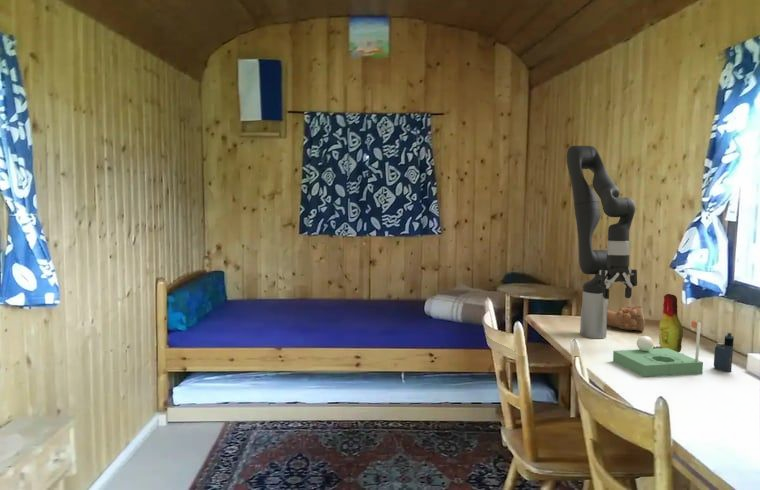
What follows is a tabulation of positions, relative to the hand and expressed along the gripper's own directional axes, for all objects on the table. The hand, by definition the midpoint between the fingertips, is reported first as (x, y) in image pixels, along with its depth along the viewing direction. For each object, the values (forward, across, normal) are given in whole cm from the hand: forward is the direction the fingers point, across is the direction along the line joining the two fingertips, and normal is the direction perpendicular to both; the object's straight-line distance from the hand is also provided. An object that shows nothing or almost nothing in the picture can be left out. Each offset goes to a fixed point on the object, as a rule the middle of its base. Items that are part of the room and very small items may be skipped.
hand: (616, 298), depth 205 cm
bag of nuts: (+17, -19, -23) cm, 34 cm away
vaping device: (+19, -17, +31) cm, 40 cm away
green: (+18, +2, +25) cm, 31 cm away
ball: (+12, +2, +19) cm, 22 cm away
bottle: (+18, -15, +9) cm, 25 cm away
